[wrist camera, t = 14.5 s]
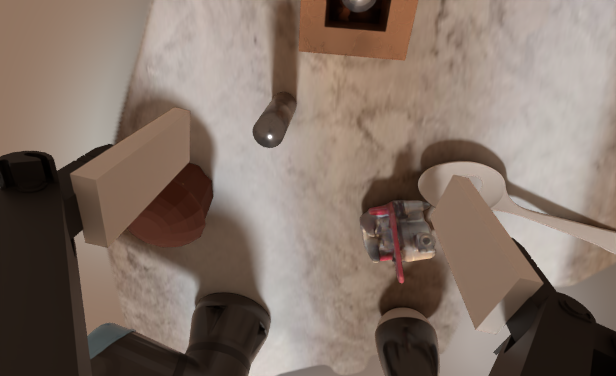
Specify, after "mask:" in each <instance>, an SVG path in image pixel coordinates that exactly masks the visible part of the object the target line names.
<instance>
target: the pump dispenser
mask: <svg viewBox="0 0 616 376" xmlns="http://www.w3.org/2000/svg"><path fill="white" fill-rule="evenodd" d="M375 342H376V347H377V352H378V356H379V360H380V364H381V367H382V370H383V372H384V375H385V376H439V371H440V358H439V346H438V339H437V335H436V332H435V329H434V328H433V327H432V326H431V324H430V323H429V321H428V320H427V319H426V318H425V316H423V315H422V314H421V313H420V312H418V311H416V310H414V309H410V308H403V307H402V308H395V309H392V310H389V311H388V312H386V313H385V314H384V315H383V316H382V317H381V319H380V321H379V323H378V326H377V329H376V331H375Z"/></svg>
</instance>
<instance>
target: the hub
mask: <svg viewBox="0 0 616 376" xmlns="http://www.w3.org/2000/svg"><path fill="white" fill-rule="evenodd" d="M381 6H382V0H330V10H329V20H332V21H345V22H357V23H370V24H379V18H380V12H381Z"/></svg>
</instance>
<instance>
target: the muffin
mask: <svg viewBox="0 0 616 376" xmlns="http://www.w3.org/2000/svg"><path fill="white" fill-rule="evenodd" d="M212 199H213V193H212V181H211V180H210V179H209V178H208V177H207V176H206V175H205V174H204V172H203V171H202V169H201V168H200V167H199V166H198V165H195V164H191V163H188V164H187V165H186V166H185V167H184V168H183V169H182V170H181V171H180V172H179V173H178V174H177V175H176V176H175V177H174V178H173V179H172V180H171V182H170V183H169V184H168V185H167V186H166V187H165V188H164V189H163V190H162V191H161V192H160V193H159V194H158V195H157V196H156V197H155V198H154V200H153V201H152V202H151V203H150V204H149V205H148V206H147V207H146V208H145V209H144V210H143V211H142V212H141V213H140V214H139V215H138V216H137V218H136V219H135V220H134V221H133V222H132V223H131V224H130V225H129V226H128V227H127V229H128V230H129V231H130V232H131V233H132V234H133V235H134V236H136V237H138V238H139V239H141V240H143V241H144V242H146V243H149V244H153V245H156V246H160V247H178V246H183V245H185V244H189V243H190V242H192V241H194V240H195V239H197V238H199V237H200V236H201V234H202V232H203V229H204V227H205V225H206V223H205V218H206V215H207V213H208V210H209V207H210V204H211V201H212Z"/></svg>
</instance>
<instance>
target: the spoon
mask: <svg viewBox="0 0 616 376" xmlns="http://www.w3.org/2000/svg"><path fill="white" fill-rule="evenodd" d="M453 174H454V175H458V176H467V175H470V176H476V177H478V178H480V179H481V181H482V188H481V190H480V191H479V194H480V195H481V196H482V198H483V199H484V201H485V202H486V203H487V205H488V206H489V208H490V209H491V210H492V211H502V212H507V213H511V214H515V215H518V216H521V217H524V218H527V219H530V220H533V221H535V222H538V223H541V224H543V225H546V226H549V227H551V228H554V229H557V230H559V231H562V232H565V233H567V234H570V235H572V236H575V237H578V238H580V239H583V240H585V241H588V242H590V243H593V244H595V245H597V246H600V247H602V248H603V249H605V250H607V251H609V252H611V253H614V254H616V231H612V230H607V229H603V228H599V227H595V226H591V225H587V224H583V223H579V222H575V221H572V220H568V219H564V218H560V217H556V216H552V215H547V214H543V213H539V212H535V211H532V210H528V209H525V208H523V207H520V206H518V205H517V204H515V203H514V202H513V201H512V200H511V199H510V197H509V196H508V194H507V191H506V184H505V180H504V178H503V176H502V175H501V174H500V173H499V172H498V171H496V170H495V169H493V168H491V167H489V166H487V165H484V164H481V163H477V162H472V161H453V162H446V163H442V164H438V165H435V166H433V167H431V168H429V169H427V170H426V171H425V172H423V173H422V175H421V176H420V178H419V181H418V188H419V191H420V193H421V195H422V196H423V198H424V199H425V200H426V201H427V202H428V203H429V204H430V205H432V206H433V207H435V208H436V206H437V204H438V202H439V200H440V198H441V196H442V195H443V193H444V191H445V189H446V187H447V185H448V184H449V182H450V180H451V178H452V176H453Z"/></svg>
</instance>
